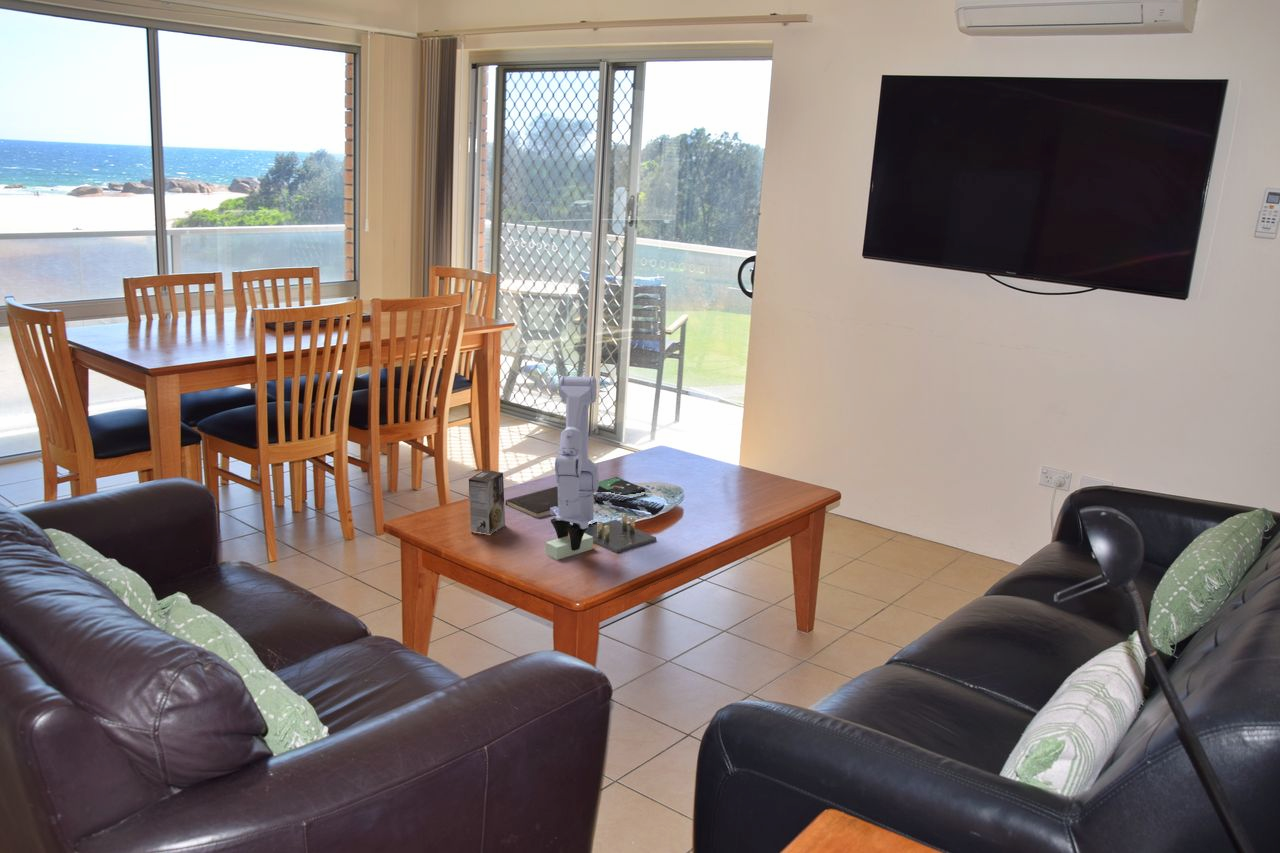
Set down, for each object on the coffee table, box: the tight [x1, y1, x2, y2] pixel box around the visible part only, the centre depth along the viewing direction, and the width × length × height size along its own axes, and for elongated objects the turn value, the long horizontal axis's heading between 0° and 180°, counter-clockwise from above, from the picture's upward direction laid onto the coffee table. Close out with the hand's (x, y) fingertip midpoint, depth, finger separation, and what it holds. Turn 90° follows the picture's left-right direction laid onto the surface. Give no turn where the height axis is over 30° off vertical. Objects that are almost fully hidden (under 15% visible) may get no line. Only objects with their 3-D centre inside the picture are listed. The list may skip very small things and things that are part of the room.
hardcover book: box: [505, 485, 597, 519], centre depth 314 cm, size 16×23×2 cm
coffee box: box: [468, 469, 506, 534], centre depth 290 cm, size 9×6×16 cm
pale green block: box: [545, 533, 594, 560], centre depth 276 cm, size 5×12×4 cm, turn 130°
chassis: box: [585, 514, 657, 554], centre depth 286 cm, size 18×14×5 cm
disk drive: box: [595, 476, 646, 495], centre depth 324 cm, size 10×3×15 cm
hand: (569, 546), depth 276 cm, fingers closed on pale green block, 5 cm apart
